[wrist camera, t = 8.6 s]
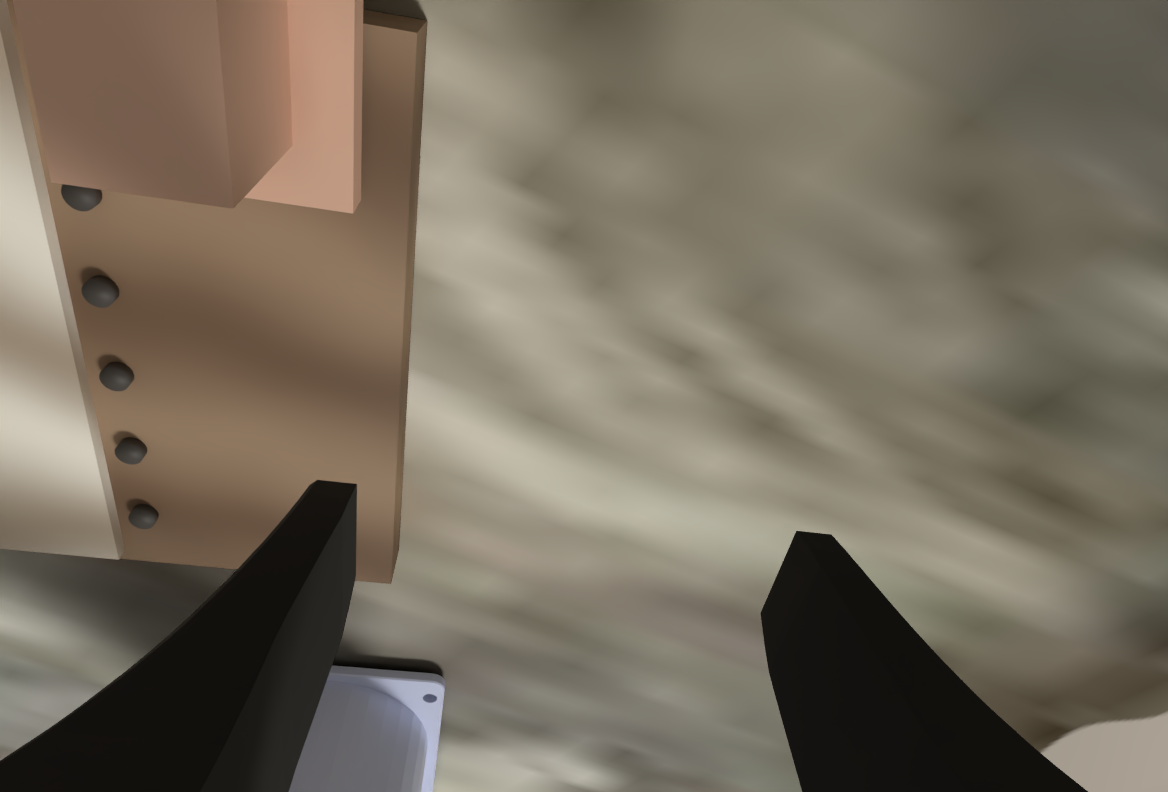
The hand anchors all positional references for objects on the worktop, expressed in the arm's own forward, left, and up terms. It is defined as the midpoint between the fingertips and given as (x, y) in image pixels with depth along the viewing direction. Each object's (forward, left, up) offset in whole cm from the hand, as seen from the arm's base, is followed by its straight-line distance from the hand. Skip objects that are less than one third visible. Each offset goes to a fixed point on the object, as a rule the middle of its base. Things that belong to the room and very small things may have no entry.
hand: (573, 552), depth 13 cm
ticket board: (-2, +11, -9) cm, 15 cm away
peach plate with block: (+5, +8, -8) cm, 12 cm away
